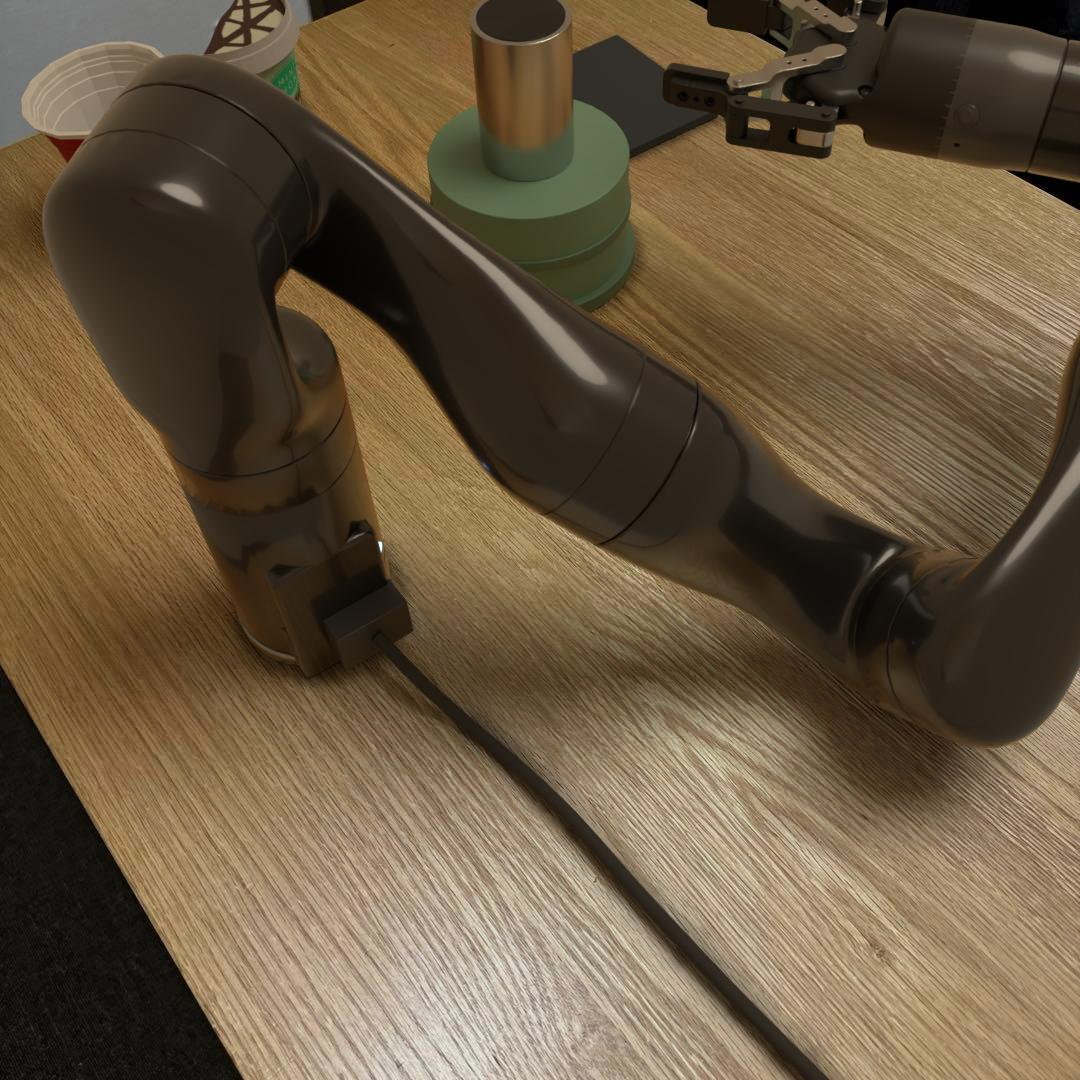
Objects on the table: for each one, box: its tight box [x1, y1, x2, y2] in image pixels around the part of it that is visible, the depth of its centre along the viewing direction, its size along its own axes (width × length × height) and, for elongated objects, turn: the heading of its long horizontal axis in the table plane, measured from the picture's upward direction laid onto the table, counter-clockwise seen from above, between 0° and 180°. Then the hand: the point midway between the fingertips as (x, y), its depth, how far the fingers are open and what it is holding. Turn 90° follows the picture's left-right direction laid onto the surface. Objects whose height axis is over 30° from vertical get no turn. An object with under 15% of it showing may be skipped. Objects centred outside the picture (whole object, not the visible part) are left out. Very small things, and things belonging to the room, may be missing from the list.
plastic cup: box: [20, 40, 166, 164], centre depth 89 cm, size 11×11×12 cm
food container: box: [200, 0, 303, 105], centre depth 96 cm, size 12×6×10 cm, turn 171°
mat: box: [573, 34, 719, 159], centre depth 100 cm, size 14×12×1 cm
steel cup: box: [469, 0, 574, 182], centre depth 78 cm, size 6×6×10 cm
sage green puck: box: [426, 100, 636, 313], centre depth 86 cm, size 15×15×9 cm
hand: (687, 42), depth 71 cm, fingers open, 8 cm apart
